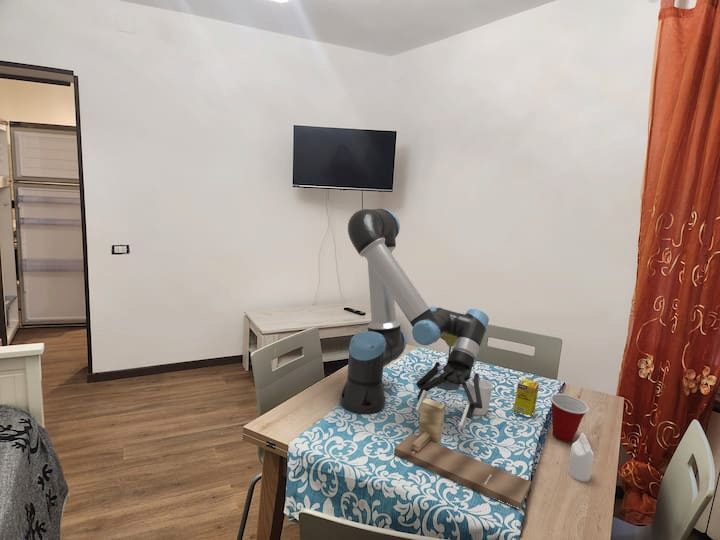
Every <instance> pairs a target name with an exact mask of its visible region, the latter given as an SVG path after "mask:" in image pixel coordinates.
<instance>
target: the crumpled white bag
mask: <svg viewBox="0 0 720 540" xmlns="http://www.w3.org/2000/svg"><path fill="white" fill-rule="evenodd" d="M569 454H570V455H569V459H568V471H567V472H568V473H567V474H568V475H569V476H570V477H572V478H573V479H575V480H577V481H580V482H584V483H585V482H586V483H587V482H589V481H590V480H591V475H592V474H591V473H592V470H593V469H592V468H593V463H594V455H595V454H594V452H593V450H592V447H591V444H590V442H589V440H588V438H587V436H586V434H585V433H584V432H582V433H581V434H580V435H579V438H577V440H575V442H573V443H572V444H571V449H570V453H569Z"/></svg>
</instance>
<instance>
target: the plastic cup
mask: <svg viewBox="0 0 720 540" xmlns="http://www.w3.org/2000/svg"><path fill="white" fill-rule="evenodd" d="M550 401H551V423H552V424H551V425H552V435H553V437H554V439H557V440H559V441H561V442H565V443H571V442H572V441H573V440H574V438H575V436H576V433H578V432H577V431H578V429H579V427H580V425H581V422H582V420H583V418H584V416H585V414H587V413H588V412H589V406H588V404H587V403H585V401H583V400H582V399H579V398H577V397H575V396H573V395H569V394H565V393H554V394H552V395H550Z"/></svg>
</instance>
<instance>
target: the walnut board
mask: <svg viewBox="0 0 720 540" xmlns="http://www.w3.org/2000/svg"><path fill="white" fill-rule="evenodd" d="M419 437H420V436H418V434H415V433H412V432H411V433H410V434H409V435H408V436H407V437H405V438H404V439H403V440H402V441H401V442H399V444H397V445H396V446H395V447H394V448H393V449H394V452H393V455H394V456H397V457H399V458H401V459H403V460H405V461H407V462H410V463H412V464H414V465H417V466H419V467H420V468H423V469H426V470H428V471H429V472H432V473H435V474H436V475H439V476H440V477H443V478H446V479H447V480H450V481H453V482H455V483H458V484H459V485H461V486H463V487H466V488H468V489H471V491H472V490H473V491H474V492H476V493H477V492H478V493H479V494H482V495H484V496H486V495H487V496H486V497H488V496H490V497H493V498H495V499H497V500H500V501H502V502H504V503H508V504H510V505H512V506H515V507H518V508H519V509H520V510H521V508H522V506H523V504H524V502H525V500H524V498H525V496H526V495H527V496H528V493H529V492H530V489H531V485H532V481H531V480H528V479H526V478H523V477H521V476H518V475H515V474H514V473H511V472H508V471H506V470H504V469H501V468H499V467H496V466H494V465H491V464H489V463H486V462H484V461H482V460H480V459H476V458H474V457H472V456H470V455H469V456H468V455H466V454H464V453H461V452H459V451H457V450H454V449H452V448H449V447H447V446H445V445H442V444H441V443H440V444H437V443H435V442H432V441H430V440H429V441H428V442H427V443H426V444H425V445H424V446H423V447H422V448H421V449H420V450H419V451H415V450H413V449H412V443H414V442H415V441H416V440H417V439H418V438H419ZM527 496H526V497H527ZM490 497H489V498H490ZM493 498H492V499H493ZM495 499H494V500H495ZM525 499H526V498H525ZM497 500H496V501H497ZM523 501H524V502H523ZM502 502H501V503H502ZM504 503H503V504H504ZM522 503H523V504H522ZM521 505H522V506H521ZM520 507H521V508H520Z"/></svg>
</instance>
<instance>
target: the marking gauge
mask: <svg viewBox="0 0 720 540" xmlns="http://www.w3.org/2000/svg"><path fill="white" fill-rule="evenodd" d="M445 411H446V404H444V403H441V402H439V401H436V400H434V399H430V398H426V399H425V400H423V401H422V404H421V412H420V414H419V415H420V416H419V423H418V424H419V425H418V433H417V435H418V436H420V437H419V438H418V439H417V440H416V441H415V442H414V443H412V449H413V450H415V451H419V450H420V449H421V448H422V447H423V446H424V445H425V444H426V443H427V442H428V441H429V440H430V441H432V442H435V443H437V444H440V445H441V444H442V436H443V430H444V429H443V428H444V421H445V420H444V419H445Z"/></svg>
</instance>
